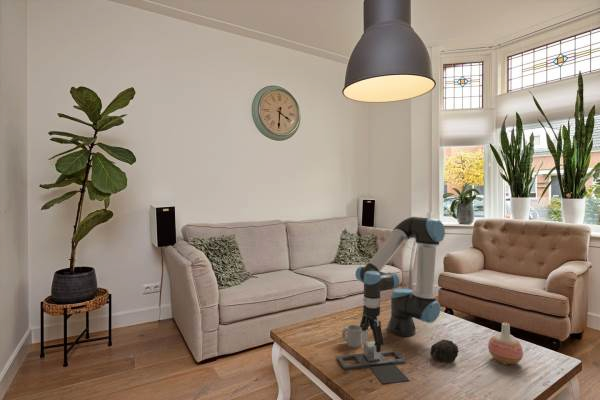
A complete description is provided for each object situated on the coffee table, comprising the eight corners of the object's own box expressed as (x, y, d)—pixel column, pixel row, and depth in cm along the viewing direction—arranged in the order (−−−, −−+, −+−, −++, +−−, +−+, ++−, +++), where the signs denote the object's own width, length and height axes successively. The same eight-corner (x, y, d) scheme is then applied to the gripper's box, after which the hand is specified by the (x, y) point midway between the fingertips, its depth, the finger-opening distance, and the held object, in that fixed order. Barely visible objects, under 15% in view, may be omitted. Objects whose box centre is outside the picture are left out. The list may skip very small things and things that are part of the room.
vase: (511, 372, 142) (512, 332, 141) (481, 358, 154) (482, 321, 153) (529, 365, 148) (530, 326, 147) (498, 351, 160) (499, 316, 159)
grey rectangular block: (373, 357, 153) (373, 341, 153) (378, 363, 149) (378, 346, 148) (363, 358, 152) (363, 341, 152) (368, 364, 147) (368, 347, 147)
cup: (360, 349, 161) (360, 331, 161) (340, 346, 165) (340, 328, 164) (362, 342, 168) (362, 325, 168) (343, 339, 171) (343, 323, 171)
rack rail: (395, 352, 159) (395, 349, 158) (405, 363, 149) (405, 360, 149) (336, 358, 152) (336, 356, 152) (343, 370, 142) (344, 367, 142)
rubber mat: (395, 365, 146) (395, 364, 146) (409, 380, 135) (409, 379, 135) (370, 368, 144) (370, 367, 144) (382, 384, 132) (382, 383, 132)
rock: (425, 355, 154) (429, 335, 154) (442, 353, 159) (446, 334, 158) (441, 367, 145) (446, 346, 144) (459, 366, 150) (464, 345, 149)
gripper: (353, 297, 161) (353, 339, 162) (376, 316, 137) (374, 365, 137) (367, 296, 163) (367, 338, 163) (392, 315, 138) (391, 364, 139)
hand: (370, 351), depth 150 cm, fingers open, 13 cm apart
